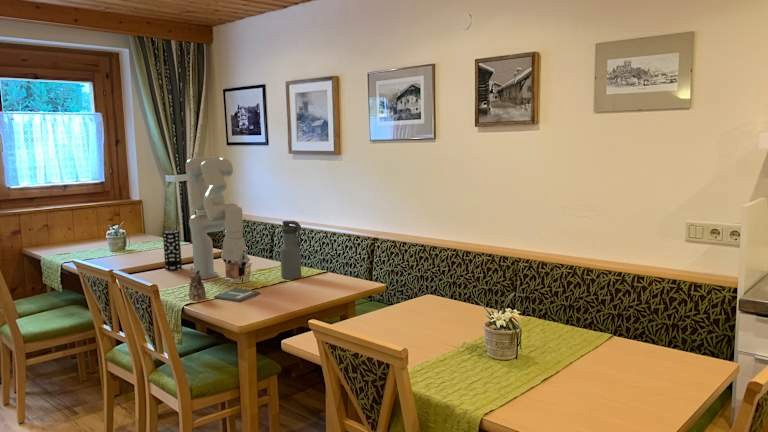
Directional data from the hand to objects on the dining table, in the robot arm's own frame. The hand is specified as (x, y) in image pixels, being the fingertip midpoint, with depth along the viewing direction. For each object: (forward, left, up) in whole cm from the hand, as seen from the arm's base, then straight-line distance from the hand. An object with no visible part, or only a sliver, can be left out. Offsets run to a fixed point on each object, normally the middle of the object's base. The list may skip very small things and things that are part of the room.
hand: (235, 274), depth 265 cm
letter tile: (+1, 0, -10) cm, 10 cm away
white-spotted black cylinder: (-63, +25, -10) cm, 69 cm away
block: (0, 0, -1) cm, 1 cm away
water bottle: (+4, +37, -10) cm, 38 cm away
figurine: (-13, -10, -10) cm, 20 cm away
